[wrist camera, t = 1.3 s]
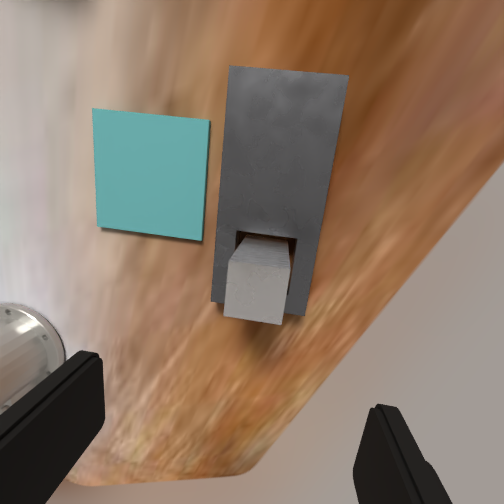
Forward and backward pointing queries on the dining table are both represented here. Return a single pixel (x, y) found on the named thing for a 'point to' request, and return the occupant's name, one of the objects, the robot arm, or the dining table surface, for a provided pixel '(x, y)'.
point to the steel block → (258, 280)
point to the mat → (151, 172)
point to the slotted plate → (277, 167)
